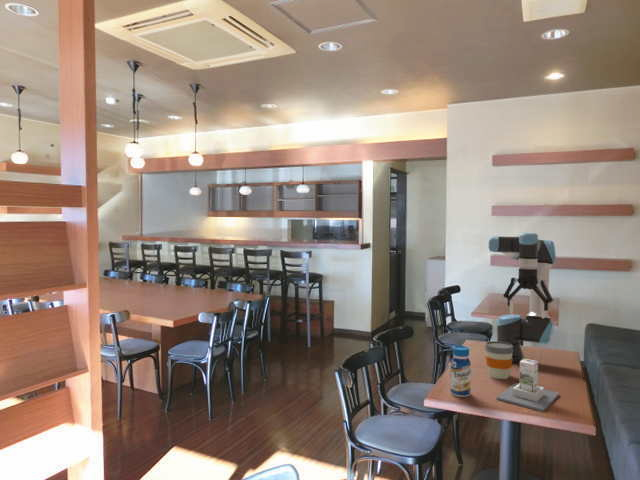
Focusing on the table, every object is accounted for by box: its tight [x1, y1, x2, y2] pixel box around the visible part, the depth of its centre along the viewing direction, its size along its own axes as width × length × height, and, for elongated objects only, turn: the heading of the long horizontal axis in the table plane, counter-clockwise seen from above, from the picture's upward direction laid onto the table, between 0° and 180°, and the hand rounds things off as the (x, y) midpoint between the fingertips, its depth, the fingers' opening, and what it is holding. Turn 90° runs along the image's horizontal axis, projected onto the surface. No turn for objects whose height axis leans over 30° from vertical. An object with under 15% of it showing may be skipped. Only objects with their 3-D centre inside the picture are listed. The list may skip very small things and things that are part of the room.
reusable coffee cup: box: [484, 340, 513, 380], centre depth 213 cm, size 13×12×15 cm
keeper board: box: [496, 382, 560, 413], centre depth 188 cm, size 22×18×4 cm
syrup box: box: [519, 358, 539, 393], centre depth 187 cm, size 6×6×14 cm
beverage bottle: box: [449, 345, 472, 398], centre depth 192 cm, size 8×8×20 cm
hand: (527, 315), depth 199 cm, fingers open, 13 cm apart
